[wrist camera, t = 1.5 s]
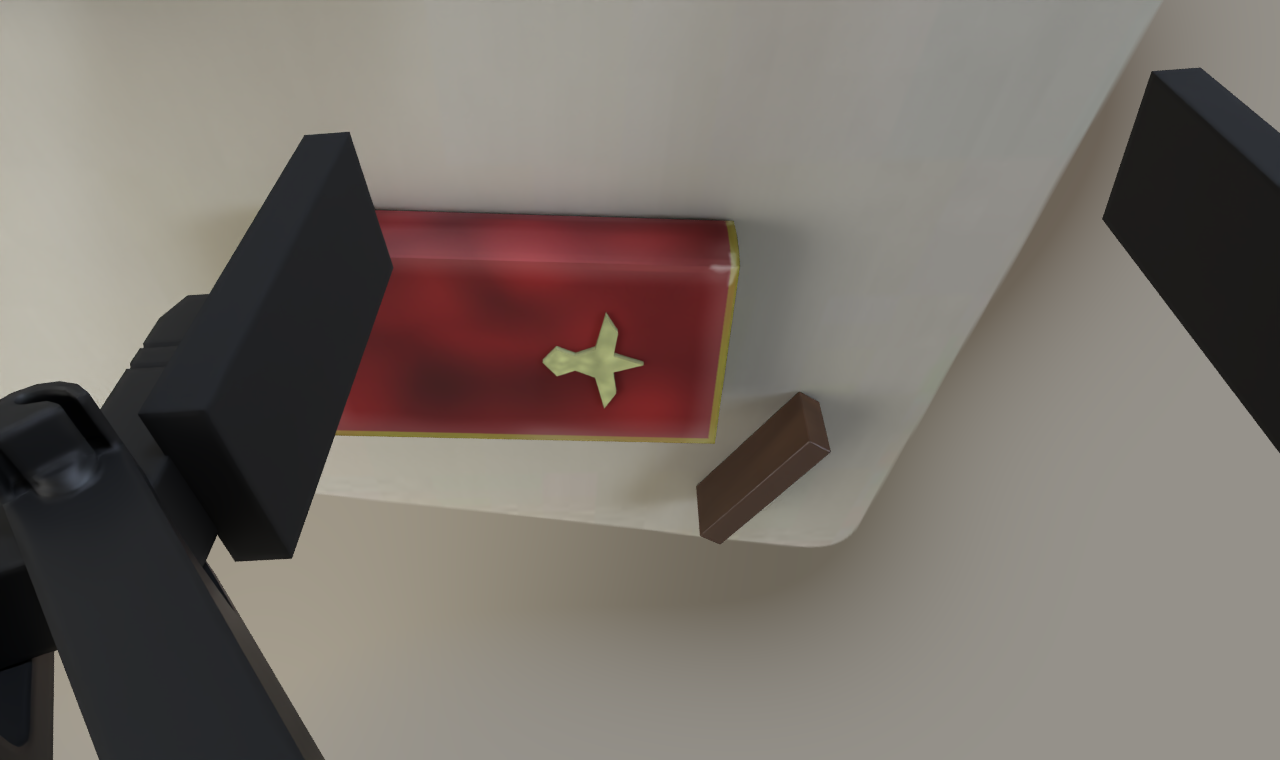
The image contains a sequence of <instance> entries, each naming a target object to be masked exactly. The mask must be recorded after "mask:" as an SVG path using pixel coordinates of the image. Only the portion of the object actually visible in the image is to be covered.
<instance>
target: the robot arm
mask: <svg viewBox="0 0 1280 760" xmlns="http://www.w3.org/2000/svg"><path fill="white" fill-rule="evenodd" d="M1102 219H1103V220H1104V222H1105V223H1106V225H1107V226H1108V227H1109V228H1110V230H1111V231H1112V233H1113V234H1114V235H1115V236H1116V238H1117V239H1118V241H1119V242H1120V243H1121V244H1122V246H1123V247H1124V248H1125V250H1126V251H1127V252H1128V254H1129V255H1130V256H1131V258H1132V259H1133V260H1134V262H1135V263H1136V264H1137V266H1139V268H1140V270H1141V271H1142V272H1143V273H1144V275H1145V276H1146V277H1147V279H1148V280H1149V281H1150V283H1151V284H1152V285H1153V287H1154V288H1155V289H1156V291H1157V292H1158V293H1159V295H1160V296H1161V297H1162V298H1163V300H1164V301H1165V302H1166V304H1167V305H1168V306H1169V308H1170V309H1171V310H1172V312H1173V313H1174V314H1175V316H1176V317H1177V318H1178V319H1179V321H1180V322H1181V324H1182V325H1183V326H1184V328H1185V329H1186V330H1187V331H1188V333H1189V334H1190V335H1191V337H1192V338H1193V339H1194V341H1195V342H1196V343H1197V345H1198V346H1199V347H1200V349H1201V350H1202V351H1203V353H1204V354H1205V355H1206V357H1207V358H1208V359H1209V360H1210V362H1211V363H1212V364H1213V366H1214V367H1215V368H1216V370H1217V371H1218V372H1219V374H1220V375H1221V376H1222V378H1223V379H1224V380H1225V382H1226V383H1227V384H1228V386H1229V387H1230V388H1231V390H1232V391H1233V392H1234V393H1235V395H1236V396H1237V397H1238V399H1239V400H1240V401H1241V403H1242V404H1243V405H1244V406H1245V408H1246V409H1247V410H1248V412H1249V413H1250V414H1251V416H1252V417H1253V419H1254V420H1255V421H1256V422H1257V424H1258V425H1259V426H1260V428H1261V429H1262V430H1263V432H1264V433H1265V434H1266V436H1267V437H1268V438H1269V440H1270V441H1271V442H1272V444H1273V445H1274V446H1275V448H1276V449H1277V450H1278V451H1279V453H1280V133H1279V132H1278V131H1277V130H1275V129H1274V128H1273V127H1272V126H1271V125H1269V124H1268V123H1267V122H1266V121H1264V120H1263V119H1262V118H1261V117H1260V116H1258V115H1257V114H1256V113H1255V112H1254V111H1252V110H1251V109H1250V108H1249V107H1248V106H1246V105H1245V104H1244V103H1243V102H1242V101H1240V100H1239V99H1238V98H1237V97H1235V96H1234V95H1233V94H1232V93H1230V92H1229V91H1228V90H1227V89H1226V88H1225V87H1223V86H1222V85H1221V84H1220V83H1219V82H1217V81H1216V80H1215V79H1214V78H1212V77H1211V76H1210V75H1209V74H1207V73H1206V72H1205V71H1204V70H1203V69H1202V68H1189V69H1176V70H1162V71H1152V72H1151V75H1150V78H1149V81H1148V84H1147V87H1146V90H1145V93H1144V96H1143V99H1142V102H1141V105H1140V108H1139V111H1138V114H1137V117H1136V120H1135V123H1134V126H1133V129H1132V132H1131V135H1130V138H1129V141H1128V144H1127V147H1126V150H1125V153H1124V156H1123V159H1122V162H1121V164H1120V167H1119V171H1118V173H1117V177H1116V180H1115V182H1114V186H1113V188H1112V192H1111V194H1110V197H1109V201H1108V203H1107V207H1106V209H1105V213H1104V215H1103V218H1102ZM393 268H394V267H393V264H392V261H391V258H390V255H389V252H388V249H387V246H386V243H385V240H384V237H383V234H382V231H381V227H380V224H379V221H378V218H377V215H376V212H375V209H374V206H373V203H372V200H371V197H370V194H369V191H368V188H367V184H366V181H365V178H364V175H363V172H362V169H361V166H360V163H359V160H358V157H357V154H356V151H355V148H354V145H353V142H352V138H351V135H350V132H341V133H328V134H314V135H304V137H303V139H302V140H301V142H300V144H299V145H298V147H297V149H296V150H295V152H294V154H293V155H292V157H291V159H290V160H289V162H288V164H287V165H286V167H285V169H284V170H283V172H282V174H281V175H280V177H279V179H278V180H277V182H276V184H275V185H274V187H273V189H272V190H271V192H270V194H269V195H268V197H267V199H266V200H265V202H264V204H263V205H262V207H261V209H260V210H259V212H258V214H257V215H256V217H255V219H254V220H253V222H252V224H251V225H250V227H249V229H248V230H247V232H246V234H245V235H244V237H243V239H242V240H241V242H240V244H239V245H238V247H237V249H236V250H235V252H234V254H233V255H232V257H231V259H230V260H229V262H228V264H227V265H226V267H225V269H224V270H223V272H222V274H221V275H220V277H219V279H218V280H217V282H216V284H215V285H214V287H213V289H212V290H211V292H210V294H203V295H188V296H186V297H185V298H184V299H183V300H181V301H180V302H179V303H178V304H176V305H175V306H174V307H173V308H171V309H170V310H169V311H168V312H167V313H165V314H164V315H163V316H162V317H160V318H159V320H158V321H157V323H156V324H155V326H154V327H153V329H152V330H151V332H150V334H149V335H148V337H147V338H146V340H145V341H144V343H143V345H144V348H140V349H139V351H138V352H137V354H136V355H135V357H134V358H133V360H132V361H131V363H130V366H131V368H130V369H126V371H125V372H124V374H123V375H122V377H121V378H120V380H119V381H118V383H117V384H116V386H115V388H114V389H113V391H112V392H111V394H110V395H109V397H108V398H107V400H106V401H105V403H104V404H103V406H102V408H101V409H99V407H98V406H97V404H96V403H95V402H94V400H93V399H92V397H91V396H90V394H89V393H88V392H87V391H86V390H84V389H83V388H82V387H81V386H79V385H78V384H74V383H67V382H61V381H58V382H50V383H43V384H36V385H33V386H30V387H28V388H25V389H22V390H19V391H16V392H13V393H11V394H9V395H7V396H6V397H4V398H2V399H0V760H53V702H54V651H56V650H58V652H59V655H60V657H61V660H62V663H63V665H64V668H65V671H66V673H67V676H68V679H69V681H70V684H71V687H72V689H73V692H74V694H75V697H76V700H77V702H78V705H79V708H80V710H81V713H82V715H83V718H84V721H85V723H86V726H87V729H88V731H89V734H90V737H91V739H92V742H93V744H94V747H95V750H96V752H97V755H98V758H99V760H325V759H324V757H323V756H322V754H321V752H320V751H319V749H318V747H317V745H316V744H315V742H314V740H313V739H312V737H311V735H310V734H309V732H308V730H307V728H306V727H305V725H304V724H303V722H302V720H301V718H300V717H299V715H298V713H297V712H296V710H295V708H294V706H293V705H292V703H291V702H290V700H289V698H288V696H287V695H286V693H285V692H284V690H283V688H282V687H281V684H280V683H279V681H278V680H277V678H276V677H275V674H274V673H273V671H272V669H271V668H270V666H269V664H268V663H267V661H266V659H265V657H264V656H263V654H262V652H261V651H260V649H259V648H258V645H257V644H256V642H255V640H254V639H253V637H252V635H251V634H250V632H249V630H248V629H247V627H246V625H245V623H244V622H243V620H242V618H241V617H240V615H239V613H238V612H237V610H236V608H235V607H234V605H233V603H232V601H231V600H230V598H229V596H228V595H227V593H226V591H225V590H224V588H223V586H222V585H221V583H220V581H219V580H218V578H217V576H216V574H215V573H214V571H213V570H212V569H211V567H210V566H209V564H208V563H207V562H206V559H207V557H208V555H209V552H210V550H211V548H212V545H213V543H214V541H215V539H216V536H217V535H218V536H219V538H220V539H221V541H222V542H223V544H224V545H225V547H226V548H227V550H228V551H229V553H230V555H231V556H232V558H233V559H234V560H235V562H236V561H254V560H273V559H291V558H292V557H293V554H294V551H295V548H296V545H297V542H298V540H299V537H300V534H301V531H302V528H303V525H304V522H305V519H306V517H307V514H308V511H309V508H310V505H311V502H312V499H313V496H314V494H315V491H316V488H317V485H318V482H319V479H320V477H321V474H322V471H323V468H324V465H325V462H326V459H327V457H328V454H329V451H330V448H331V445H332V442H333V439H334V437H335V434H336V431H337V428H338V425H339V422H340V419H341V416H342V414H343V411H344V408H345V405H346V402H347V399H348V396H349V394H350V391H351V388H352V385H353V382H354V379H355V376H356V374H357V371H358V368H359V365H360V362H361V359H362V356H363V354H364V351H365V348H366V345H367V342H368V339H369V336H370V333H371V331H372V328H373V325H374V322H375V319H376V316H377V313H378V311H379V308H380V305H381V302H382V299H383V296H384V293H385V291H386V288H387V285H388V282H389V279H390V276H391V273H392V271H393Z"/></svg>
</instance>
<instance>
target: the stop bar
mask: <svg viewBox="0 0 1280 760" xmlns="http://www.w3.org/2000/svg"><path fill="white" fill-rule="evenodd" d="M830 452H831V450H830V446H829V442H828V438H827V433H826V429H825V425H824V421H823V416H822V412H821V408H820V404H819V402H818V401H816V400H814V399H812V398H810V397H808V396H806V395H805V394H803V393H801V392H798V393H797V394H796V395H795V396H794V397H793V398H792V399H791V400H789V401H788V402H787V403H786V404H785V405H784V406H783V407H782V408H781V409H780V410H779V411H778V412H776V413H775V414H774V415H773V416H772V417H771V418H770V419H769V420H768V421H767V422H766V423H765V424H763V425H762V426H761V427H760V428H759V429H758V430H757V431H756V432H755V433H754V434H753V435H751V436H750V437H749V438H748V439H747V440H746V441H745V442H744V443H743V444H742V445H741V446H740V447H738V448H737V449H736V450H735V451H734V452H733V453H732V454H731V455H730V456H729V457H728V458H727V459H725V460H724V461H723V462H722V463H721V464H720V465H719V466H718V467H717V468H716V469H715V470H713V471H712V472H711V473H710V474H709V475H708V476H707V477H706V478H705V479H704V480H703V481H702V482H700V483H699V484H698V485H697V487H696V489H697V502H698V516H699V529H700V536H701V537H704V538H706V539H708V540H711V541H713V542H716V543H718V544H721V543H723V542H724V541H725V540H726V539H727V538H729V537H730V536H731V535H732V534H733V533H735V532H736V531H737V530H738V529H739V528H741V527H742V526H743V525H744V524H745V523H747V522H748V521H749V520H750V519H751V518H753V517H754V516H755V515H756V514H757V513H759V512H760V511H761V510H762V509H763V508H765V507H766V506H767V505H768V504H769V503H771V502H772V501H773V500H774V499H775V498H776V497H778V496H779V495H780V494H781V493H782V492H784V491H785V490H786V489H787V488H788V487H790V486H791V485H792V484H793V483H794V482H796V481H797V480H798V479H799V478H800V477H802V476H803V475H804V474H805V473H806V472H808V471H809V470H810V469H811V468H812V467H814V466H815V465H816V464H817V463H818V462H820V461H821V460H822V459H823V458H824V457H826V456H827V455H828V454H829V453H830Z"/></svg>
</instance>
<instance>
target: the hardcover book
mask: <svg viewBox="0 0 1280 760" xmlns="http://www.w3.org/2000/svg"><path fill="white" fill-rule="evenodd" d="M375 212H376V215H377V218H378V221H379V224H380V227H381V231H382V234H383V237H384V240H385V243H386V246H387V249H388V252H389V255H390V258H391V261H392V264H393V267H394V268H393V271H392V273H391V276H390V279H389V282H388V285H387V288H386V291H385V293H384V296H383V299H382V302H381V305H380V308H379V311H378V313H377V316H376V319H375V322H374V325H373V328H372V331H371V333H370V336H369V339H368V342H367V345H366V348H365V351H364V354H363V356H362V359H361V362H360V365H359V368H358V371H357V374H356V376H355V379H354V382H353V385H352V388H351V391H350V394H349V396H348V399H347V402H346V405H345V408H344V411H343V414H342V416H341V419H340V422H339V425H338V428H337V431H336V434H335V435H341V436H387V437H433V438H479V439H525V440H572V441H618V442H664V443H710V444H715V438H716V431H717V424H718V417H719V410H720V403H721V395H722V388H723V381H724V374H725V367H726V360H727V353H728V346H729V339H730V332H731V325H732V318H733V311H734V304H735V297H736V290H737V283H738V276H739V269H740V258H739V248H738V240H737V234H736V229H735V225H734V221H720V220H687V219H654V218H621V217H587V216H554V215H521V214H488V213H455V212H422V211H389V210H375Z"/></svg>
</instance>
